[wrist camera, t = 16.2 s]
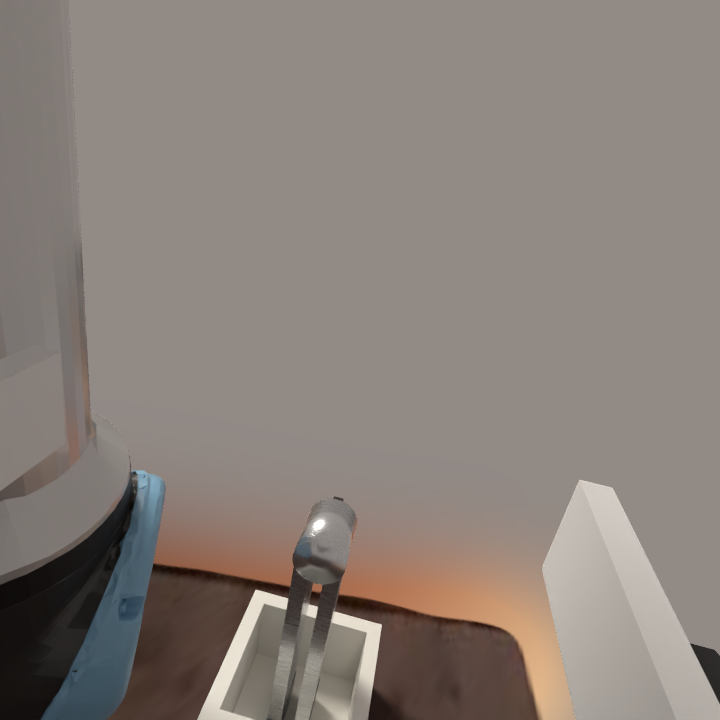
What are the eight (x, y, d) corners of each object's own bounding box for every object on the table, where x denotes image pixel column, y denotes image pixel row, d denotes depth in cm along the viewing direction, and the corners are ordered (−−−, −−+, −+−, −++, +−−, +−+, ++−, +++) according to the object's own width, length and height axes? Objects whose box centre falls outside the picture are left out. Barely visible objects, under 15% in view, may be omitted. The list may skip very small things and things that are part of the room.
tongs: (261, 740, 35) (296, 535, 28) (282, 674, 39) (317, 482, 32) (303, 753, 35) (349, 549, 27) (320, 685, 39) (363, 494, 32)
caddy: (191, 784, 33) (196, 721, 30) (247, 647, 42) (255, 589, 39) (341, 831, 32) (360, 770, 29) (365, 681, 41) (381, 624, 38)
